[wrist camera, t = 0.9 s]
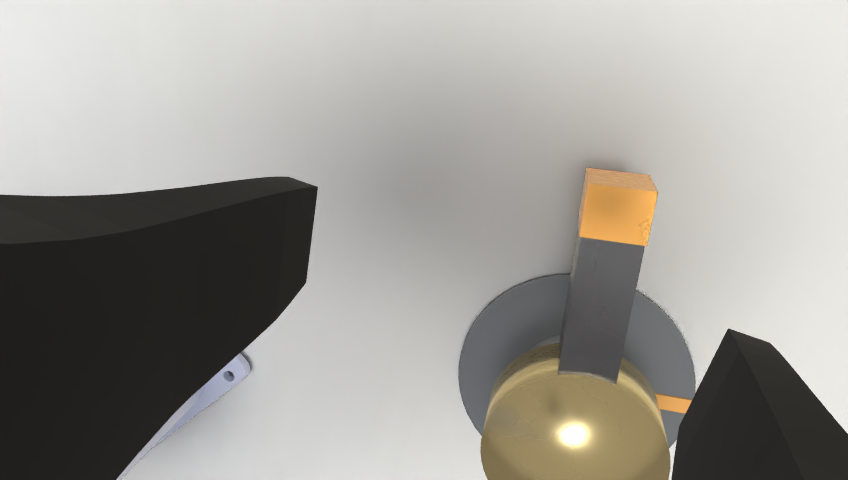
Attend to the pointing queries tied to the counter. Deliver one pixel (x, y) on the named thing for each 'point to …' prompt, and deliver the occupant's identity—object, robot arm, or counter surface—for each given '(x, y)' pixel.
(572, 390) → the collar
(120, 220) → the robot arm
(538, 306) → the post base
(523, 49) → the counter surface
